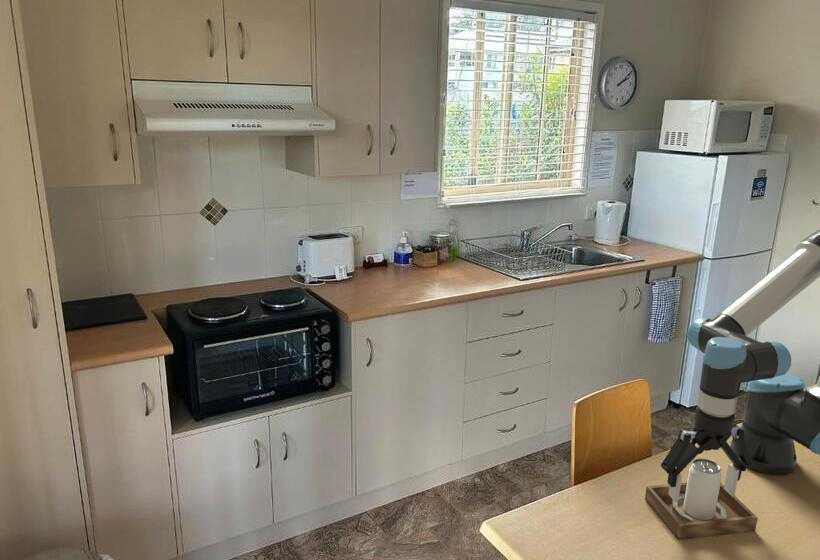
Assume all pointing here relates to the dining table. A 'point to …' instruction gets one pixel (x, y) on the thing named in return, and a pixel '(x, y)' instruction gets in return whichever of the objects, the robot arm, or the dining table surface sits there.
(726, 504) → the walled box
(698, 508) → the can
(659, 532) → the dining table surface
